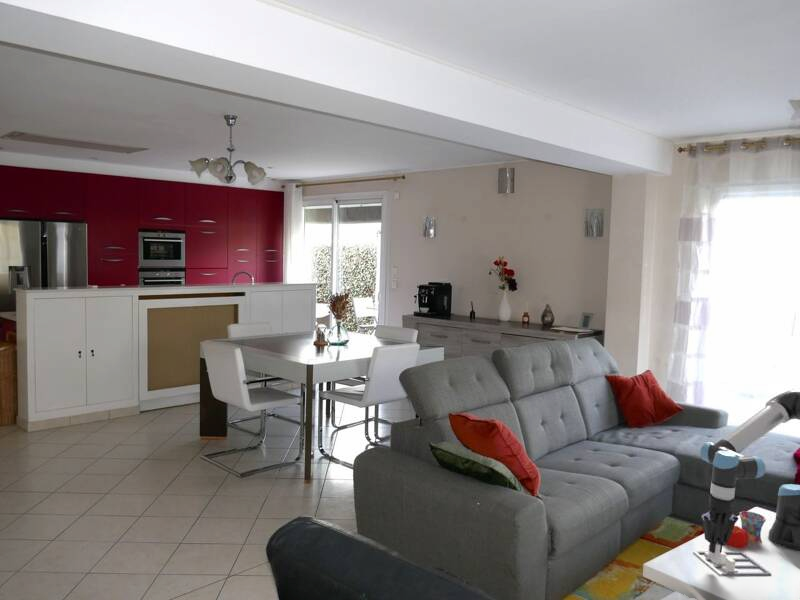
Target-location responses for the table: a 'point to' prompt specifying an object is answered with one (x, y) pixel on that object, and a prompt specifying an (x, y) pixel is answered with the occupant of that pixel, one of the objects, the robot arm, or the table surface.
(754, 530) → the mug
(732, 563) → the tab
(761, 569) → the switch bank
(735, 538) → the tomato
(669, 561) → the table surface
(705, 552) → the tab
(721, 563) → the tab
